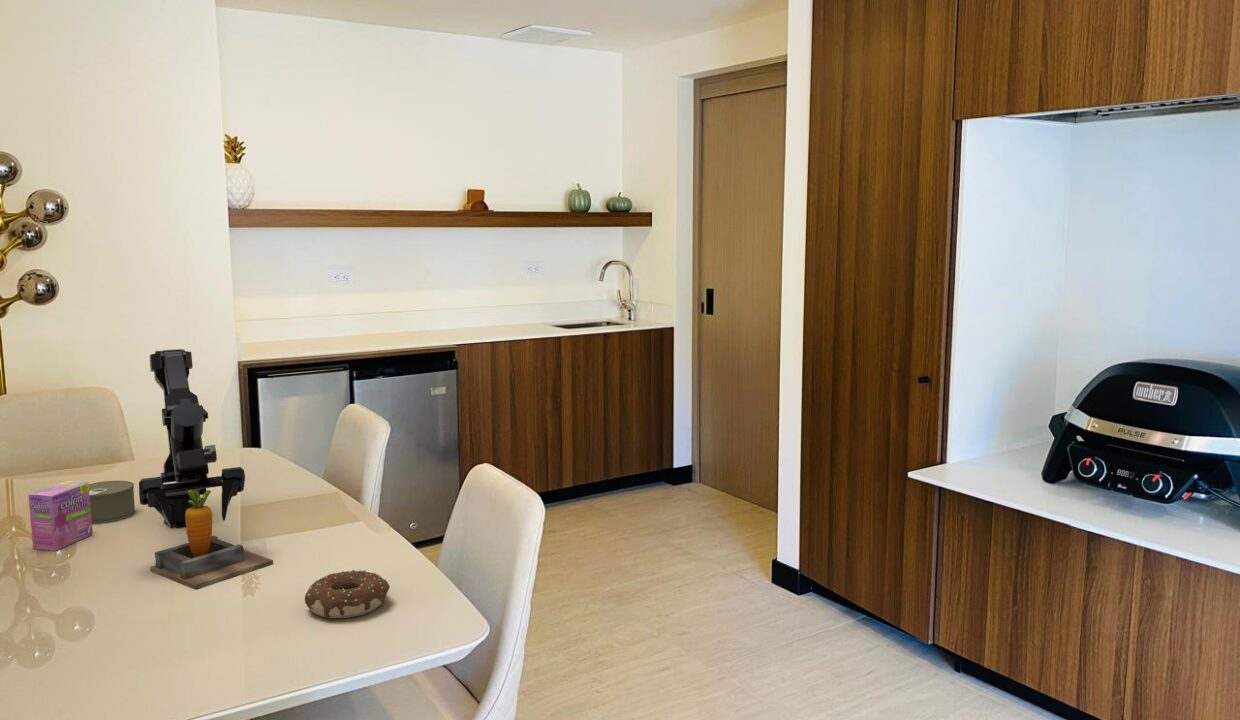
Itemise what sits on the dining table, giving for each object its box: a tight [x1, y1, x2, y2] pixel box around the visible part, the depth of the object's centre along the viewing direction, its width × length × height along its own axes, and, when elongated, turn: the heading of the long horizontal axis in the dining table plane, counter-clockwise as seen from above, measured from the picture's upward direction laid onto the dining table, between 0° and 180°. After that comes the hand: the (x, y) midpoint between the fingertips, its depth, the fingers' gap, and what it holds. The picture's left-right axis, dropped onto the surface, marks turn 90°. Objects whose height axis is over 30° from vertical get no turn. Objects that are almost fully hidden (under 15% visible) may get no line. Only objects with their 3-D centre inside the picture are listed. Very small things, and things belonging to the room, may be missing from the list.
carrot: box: [185, 489, 213, 558], centre depth 180 cm, size 5×5×15 cm
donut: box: [304, 569, 390, 619], centre depth 163 cm, size 14×14×5 cm
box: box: [27, 480, 94, 552], centre depth 196 cm, size 10×6×12 cm, turn 168°
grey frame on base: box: [149, 535, 274, 590], centre depth 182 cm, size 16×16×4 cm
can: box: [89, 480, 136, 525], centre depth 214 cm, size 12×12×7 cm
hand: (198, 523), depth 179 cm, fingers open, 9 cm apart
